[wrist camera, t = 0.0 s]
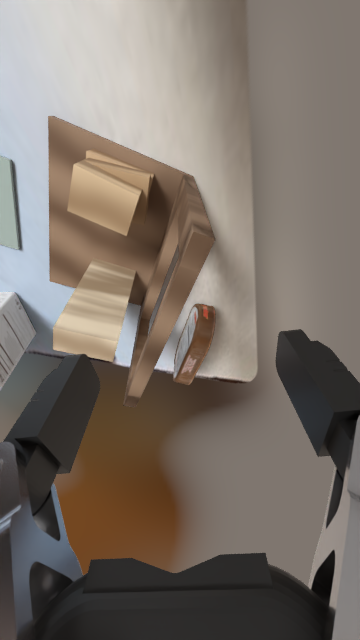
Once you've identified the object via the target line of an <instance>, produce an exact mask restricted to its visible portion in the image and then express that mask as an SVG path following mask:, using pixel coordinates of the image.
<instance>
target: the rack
mask: <svg viewBox="0 0 360 640" xmlns="http://www.w3.org/2000/svg"><path fill="white" fill-rule="evenodd" d="M48 129H49V251H50V281H51V282H55V283H58V284H62V285H66V286H70V287H73V288H76V287H77V286H78V284H79V282H80V281H81V279H82V277H83V275H84V274H85V272H86V270H87V269H88V267H89V265H90V263H91V262H92V260H93V258H95V259H98V260H102V261H105V262H108V263H112V264H115V265H118V266H121V267H125V268H128V269H131V270H135V271H136V273H135V277H134V281H133V285H132V288H131V292H130V296H129V300H128V302H129V303H133V304H137V305H141V309H140V315H139V320H138V326H137V332H136V337H135V343H134V349H133V354H132V360H131V366H130V371H129V377H128V383H127V388H126V394H125V400H124V406H130V407H136V405H137V403H138V401H139V399H140V397H141V395H142V393H143V391H144V388H145V386H146V384H147V382H148V380H149V378H150V376H151V374H152V372H153V369H154V367H155V365H156V363H157V361H158V359H159V357H160V355H161V353H162V351H163V348H164V346H165V344H166V342H167V340H168V338H169V336H170V334H171V332H172V329H173V327H174V325H175V323H176V321H177V319H178V317H179V315H180V313H181V311H182V308H183V306H184V304H185V302H186V300H187V298H188V296H189V294H190V292H191V289H192V287H193V285H194V283H195V281H196V279H197V277H198V275H199V273H200V271H201V268H202V266H203V264H204V262H205V260H206V258H207V256H208V254H209V252H210V249H211V247H212V245H213V243H214V241H215V237H214V234H213V231H212V229H211V226H210V223H209V220H208V217H207V214H206V211H205V208H204V206H203V203H202V200H201V197H200V194H199V191H198V188H197V186H196V183H195V180H194V177H193V176H191V175H189V174H186V173H184V172H182V171H179V170H177V169H175V168H173V167H170V166H168V165H166V164H163V163H161V162H159V161H156V160H154V159H152V158H149V157H147V156H145V155H143V154H140V153H138V152H136V151H133V150H131V149H129V148H126V147H124V146H122V145H119V144H117V143H115V142H112V141H110V140H108V139H106V138H103V137H101V136H99V135H96V134H94V133H92V132H89V131H87V130H85V129H82V128H80V127H78V126H75V125H73V124H71V123H69V122H66V121H64V120H62V119H59V118H57V117H55V116H48ZM91 149H96V150H98V151H101V152H103V153H106V154H108V155H110V156H113V157H115V158H118V159H120V160H122V161H125V162H127V163H130V164H132V165H134V166H137V167H139V168H142V169H144V170H146V171H149V172H151V173H154V176H153V180H152V184H151V188H150V192H149V199H148V208H147V217H146V221H145V224H144V225H141V224H136V223H131V226H130V229H129V231H128V234H127V236H125V235H123V234H121V233H118V232H116V231H114V230H111V229H109V228H106V227H104V226H102V225H99V224H97V223H95V222H92V221H90V220H88V219H85V218H83V217H81V216H78V215H76V214H74V213H71V212H69V211H67V209H68V202H69V194H70V187H71V180H72V173H73V165H74V164H75V163H78V162H80V161H82V160H85V159H86V151H88V150H91ZM178 242H179V258H178V260H177V263H176V266H175V268H174V271H173V273H172V276H171V278H170V281H169V284H168V286H167V289H166V291H165V294H164V296H163V299H162V302H161V304H160V307H159V309H158V312H157V314H156V317H155V320H154V322H153V325H152V327H151V330H150V332H149V335H148V329H149V321H150V318H151V315H152V312H153V310H154V307H155V304H156V302H157V299H158V296H159V293H160V291H161V288H162V285H163V283H164V280H165V277H166V275H167V272H168V269H169V266H170V264H171V261H172V258H173V256H174V253H175V250H176V248H177V245H178Z"/></svg>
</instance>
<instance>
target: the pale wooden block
mask: <svg viewBox="0 0 360 640" xmlns="http://www.w3.org/2000/svg"><path fill="white" fill-rule="evenodd" d="M135 273H136V271H135V270H131V269H128V268H125V267H121V266H118V265H115V264H112V263H108V262H105V261H102V260H98V259H95V258H93V260H92V262H91V263H90V265H89V267H88V269H87V270H86V272H85V274H84V275H83V277H82V279H81V281H80V282H79V284H78V286H77V287H76V289H75V291H74V293H73V294H72V296H71V298H70V299H69V301H68V303H67V305H66V306H65V308H64V310H63V312H62V313H61V315H60V317H59V318H58V320H57V322H56V324H55V325H54V327H53V350H57V351H62V352H67V353H72V354H77V355H78V354H86V355H87V356H88V357H92V358H97V359H102V360H107V361H112V362H113V359H114V355H115V351H116V348H117V344H118V340H119V336H120V332H121V328H122V324H123V320H124V316H125V312H126V308H127V304H128V300H129V296H130V292H131V288H132V285H133V281H134V277H135Z"/></svg>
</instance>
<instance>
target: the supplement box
mask: <svg viewBox="0 0 360 640" xmlns="http://www.w3.org/2000/svg"><path fill="white" fill-rule="evenodd" d="M35 335H36V331H35V329H34V327H33V325H32V324H31V322H30V320H29V318H28V316H27V314H26V312H25V310H24V308H23V306H22V304H21V302H20V300H19V298H18V296H17V294H16V293H15V292H0V390H1V388H2V387H3V385H4V384H5V382H6V380H7V379H8V377H9V376H10V374H11V373H12V371H13V369H14V368H15V366H16V364H17V363H18V361H19V360H20V358H21V357H22V355H23V354H24V352H25V350H26V349H27V347H28V346H29V344H30V343H31V341H32V339H33V338H34V336H35Z"/></svg>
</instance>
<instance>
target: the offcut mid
mask: <svg viewBox="0 0 360 640" xmlns="http://www.w3.org/2000/svg"><path fill="white" fill-rule="evenodd" d="M85 161H87V162H89V163H91V164H93V165H95V166H97V167H99V168H101V169H103V170H105V171H107V172H109V173H111V174H113V175H115V176H117V177H119V178H121V179H123V180H125V181H127V182H129V183H131V184H133V185H135V186H137V187H138V188H140V189H142V192H141V195H140V198H139V201H138V205H137V208H136V211H135V214H134V217H133V220H132V223H136V224H141V225H144V224H145V221H146V217H147V208H148V199H149V190H150V181H151V173H149V172H145V171H141V170H137V169H133V168H129V167H125V166H121V165H117V164H113V163H109V162H105V161H101V160H96V159H92V158H87V159H85Z"/></svg>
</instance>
